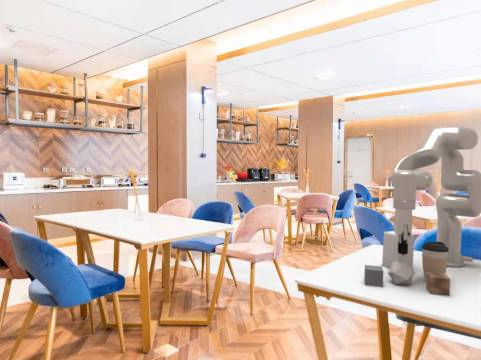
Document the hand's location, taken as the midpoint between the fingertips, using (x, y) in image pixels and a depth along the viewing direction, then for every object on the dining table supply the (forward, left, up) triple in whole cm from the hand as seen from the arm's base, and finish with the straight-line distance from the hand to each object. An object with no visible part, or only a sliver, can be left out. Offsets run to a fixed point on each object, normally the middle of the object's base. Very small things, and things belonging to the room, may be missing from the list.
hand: (402, 253), depth 134 cm
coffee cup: (-12, -5, -11) cm, 18 cm away
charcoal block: (+10, +4, -11) cm, 16 cm away
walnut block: (-11, +6, -11) cm, 17 cm away
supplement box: (-2, -22, -11) cm, 24 cm away
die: (0, 0, -11) cm, 11 cm away
